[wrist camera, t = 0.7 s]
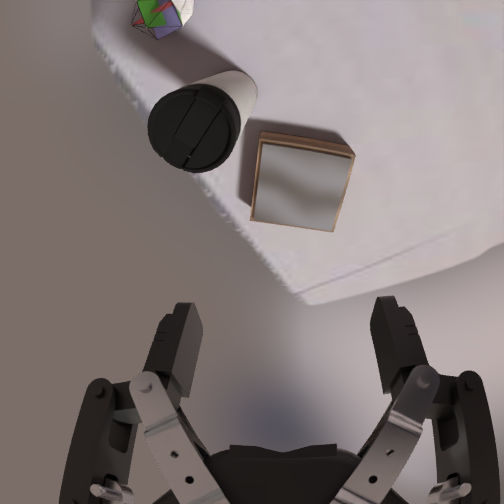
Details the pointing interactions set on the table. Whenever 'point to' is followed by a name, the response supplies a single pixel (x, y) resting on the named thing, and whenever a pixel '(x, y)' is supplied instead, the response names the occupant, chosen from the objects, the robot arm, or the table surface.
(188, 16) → the geometric puzzle
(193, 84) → the travel mug
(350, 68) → the table surface
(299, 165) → the square wooden framed mirror
